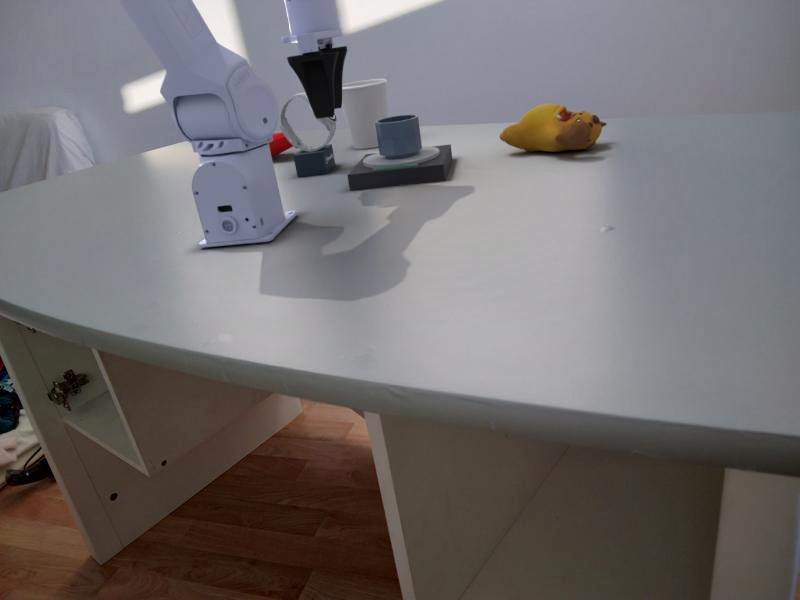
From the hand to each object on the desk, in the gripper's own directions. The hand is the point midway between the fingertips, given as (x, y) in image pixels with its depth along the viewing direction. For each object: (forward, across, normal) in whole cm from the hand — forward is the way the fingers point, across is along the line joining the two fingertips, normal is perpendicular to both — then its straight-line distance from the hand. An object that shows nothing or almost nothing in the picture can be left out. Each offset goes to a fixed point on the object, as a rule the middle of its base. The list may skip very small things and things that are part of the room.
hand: (329, 112), depth 79 cm
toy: (+9, -5, +28) cm, 30 cm away
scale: (+9, -3, +8) cm, 13 cm away
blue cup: (+7, -3, +8) cm, 11 cm away
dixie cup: (+9, -28, +2) cm, 29 cm away
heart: (+9, -28, -16) cm, 34 cm away
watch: (+10, -12, -5) cm, 17 cm away
